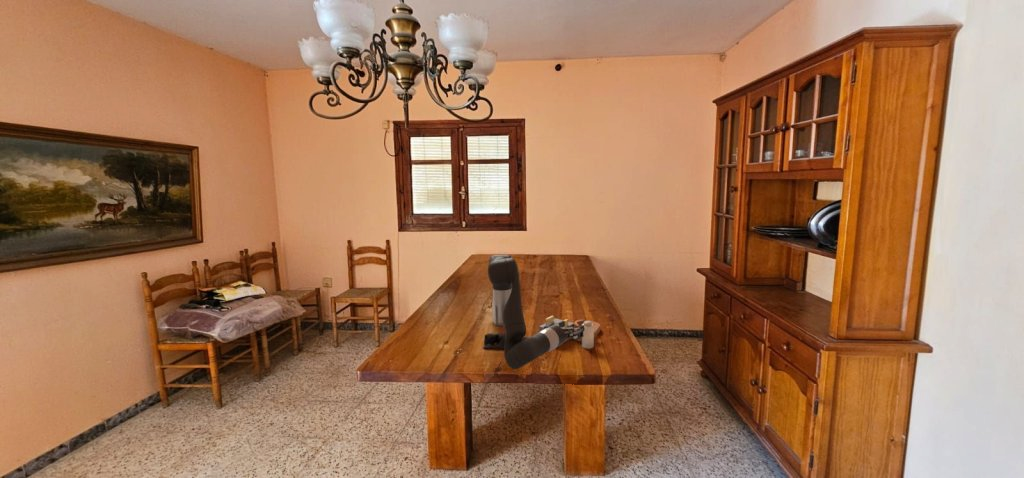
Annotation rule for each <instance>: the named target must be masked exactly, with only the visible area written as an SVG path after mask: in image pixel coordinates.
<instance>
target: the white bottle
mask: <svg viewBox="0 0 1024 478" xmlns="http://www.w3.org/2000/svg"><path fill="white" fill-rule="evenodd" d="M591 321H592V320H589V321H587V320H584V324H582V325H584V327H585V331H584V336H583V337H582V342H581V347H582V348H583V349H593V348H594V347H595V343H594V341H595V338H594V325H593V324H592V322H593V321H592V322H591Z"/></svg>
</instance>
